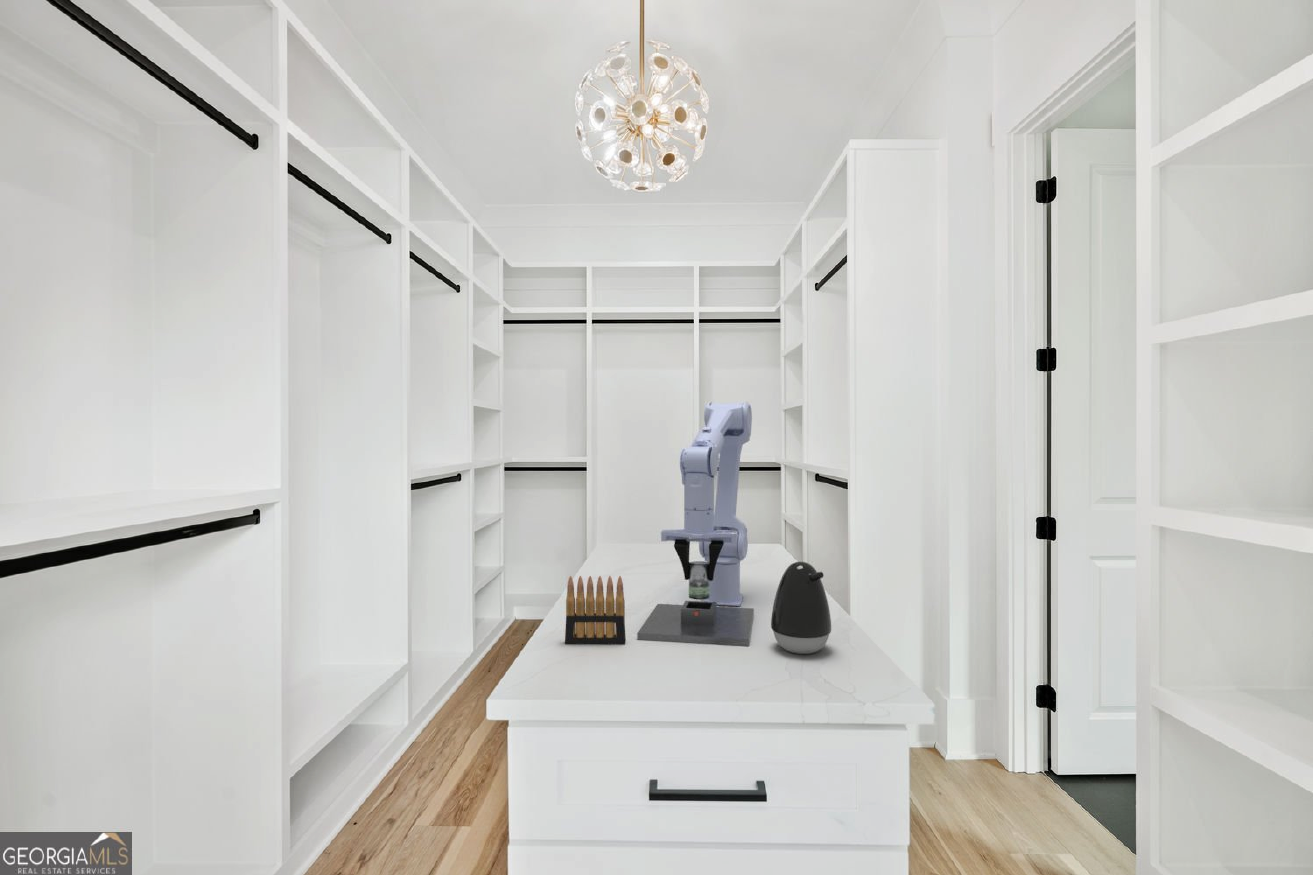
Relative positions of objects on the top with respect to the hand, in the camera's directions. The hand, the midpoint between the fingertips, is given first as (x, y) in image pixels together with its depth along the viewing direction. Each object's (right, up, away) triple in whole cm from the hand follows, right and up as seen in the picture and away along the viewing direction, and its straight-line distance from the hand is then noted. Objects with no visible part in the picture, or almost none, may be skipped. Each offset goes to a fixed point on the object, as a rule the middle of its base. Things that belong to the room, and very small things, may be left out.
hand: (699, 579), depth 130 cm
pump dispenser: (+17, -10, -13) cm, 23 cm away
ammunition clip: (-19, -10, -9) cm, 23 cm away
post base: (0, -9, 0) cm, 9 cm away
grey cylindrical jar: (0, -3, 0) cm, 3 cm away
